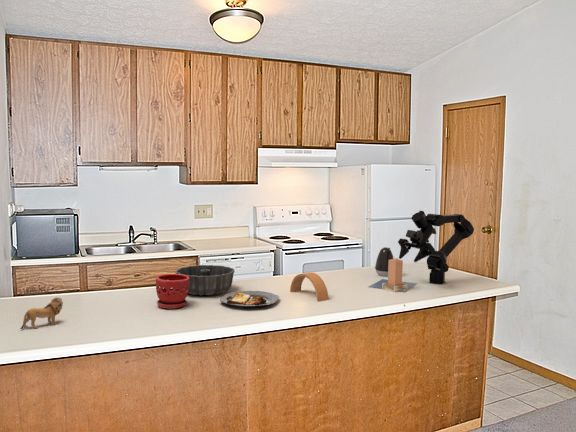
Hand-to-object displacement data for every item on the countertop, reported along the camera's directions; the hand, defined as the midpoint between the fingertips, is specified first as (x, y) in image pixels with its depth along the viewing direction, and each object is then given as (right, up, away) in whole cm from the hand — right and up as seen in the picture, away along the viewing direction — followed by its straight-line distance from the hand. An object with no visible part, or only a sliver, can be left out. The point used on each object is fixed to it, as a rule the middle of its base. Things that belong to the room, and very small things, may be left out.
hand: (406, 260), depth 232 cm
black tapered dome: (-5, -11, +27) cm, 30 cm away
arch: (-46, -15, -13) cm, 51 cm away
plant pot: (-102, -16, -32) cm, 108 cm away
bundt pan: (-93, -14, -8) cm, 94 cm away
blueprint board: (-5, -13, +5) cm, 15 cm away
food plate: (-71, -16, -25) cm, 77 cm away
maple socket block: (-6, -13, -3) cm, 15 cm away
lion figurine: (-141, -18, -57) cm, 154 cm away
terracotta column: (-6, -13, -3) cm, 14 cm away
